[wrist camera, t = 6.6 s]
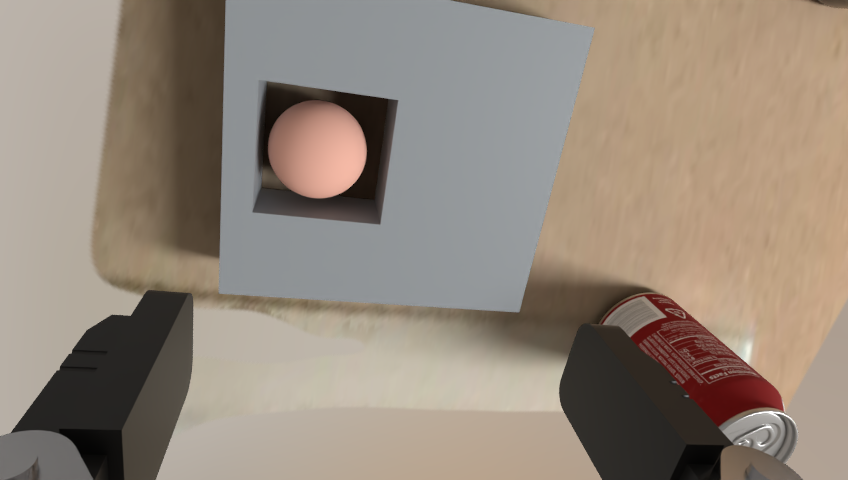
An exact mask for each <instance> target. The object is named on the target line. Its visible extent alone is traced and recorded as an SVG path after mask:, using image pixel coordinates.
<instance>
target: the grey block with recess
mask: <svg viewBox="0 0 848 480" xmlns="http://www.w3.org/2000/svg"><path fill="white" fill-rule="evenodd" d="M594 29H595V28H593V27H587V26H582V25H577V24H572V23H566V22H561V21H556V20H551V19H545V18H540V17H535V16H530V15H525V14H519V13H514V12H509V11H504V10H498V9H493V8H488V7H483V6H477V5H472V4H467V3H462V2H456V1H451V0H226V9H225V51H224V94H223V136H222V178H221V221H220V263H219V293H220V294H236V295H251V296H267V297H283V298H299V299H315V300H330V301H346V302H362V303H378V304H394V305H410V306H425V307H441V308H457V309H473V310H489V311H505V312H519V311H520V307H521V304H522V300H523V296H524V292H525V288H526V285H527V281H528V277H529V273H530V270H531V266H532V262H533V258H534V255H535V251H536V247H537V243H538V240H539V236H540V232H541V228H542V225H543V221H544V217H545V213H546V210H547V206H548V202H549V198H550V194H551V191H552V187H553V183H554V179H555V176H556V172H557V168H558V164H559V161H560V157H561V153H562V149H563V146H564V142H565V138H566V134H567V131H568V127H569V123H570V119H571V116H572V112H573V108H574V104H575V100H576V97H577V93H578V89H579V85H580V82H581V78H582V74H583V70H584V67H585V63H586V59H587V55H588V52H589V48H590V44H591V40H592V37H593V33H594ZM267 81H271V82H278V83H284V84H291V85H298V86H305V87H312V88H319V89H325V90H332V91H339V92H346V93H353V94H360V95H366V96H373V97H380V98H387V99H388V106H387V113H386V120H385V127H384V135H383V142H382V149H381V157H380V164H379V171H378V178H377V186H376V193H375V200H371V199H361V198H352V197H342V196H333V197H328V198H310V197H306V196H302V195H300V194H298V193H295V192H294V191H285V190H275V189H266V188H261V186H262V167H263V148H264V129H265V110H266V91H267Z"/></svg>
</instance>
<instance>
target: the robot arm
mask: <svg viewBox="0 0 848 480" xmlns="http://www.w3.org/2000/svg"><path fill="white" fill-rule="evenodd" d="M192 360H193V297H192V294H191V293H181V292H167V291H154V290H148V291H147V292H146V293H145V294H144V296H143V298H142V299H141V301H140V302H139V304H138V305H137V307H136V309H135V310H134V312H133V313H132V315H131V316H123V315H111V316H109V317H108V318H106V319H104V320H103V321H101V322H99V323H98V324H97V325H95V326H93V327H92V328H90V329H88V330H87V331H86V332H85V334H84V335H83V336H82V338H81V339H80V340H79V342H78V343H77V345H76V346H75V347H74V348H73V350H72V354H69V355H68V356H67V358H66V359H65V360H64V362H63V363H62V365H61V366H60V370H59V371H56V373H55V374H54V375H53V377H52V378H51V379H50V381H49V382H48V383H47V385H46V386H45V387H44V389H43V390H42V392H41V393H40V394H39V396H38V397H37V398H36V400H35V401H34V402H33V404H32V405H31V406H30V408H29V409H28V410H27V412H26V413H25V414H24V416H23V417H22V418H21V420H20V421H19V422H18V424H17V425H16V426H15V428H14V429H13V430H12V432H11V433H10V434H6V435H3V436H0V480H155V479H156V477H157V474H158V472H159V469H160V466H161V464H162V461H163V458H164V455H165V453H166V450H167V447H168V445H169V442H170V439H171V436H172V434H173V431H174V428H175V426H176V423H177V420H178V417H179V415H180V412H181V409H182V407H183V404H184V401H185V398H186V396H187V392H188V389H189V384H190V379H191V372H192ZM559 396H560V402H561V406H562V409H563V411H564V413H565V414H566V416H567V418H568V420H569V422H570V423H571V425H572V427H573V429H574V430H575V432H576V434H577V436H578V437H579V439H580V441H581V443H582V445H583V446H584V448H585V450H586V452H587V454H588V455H589V457H590V459H591V461H592V462H593V464H594V466H595V467H596V469H597V471H598V473H599V475H600V477H601V478H602V480H803V479H802V478H801V477H800V476H799V475H798V474H797V473H796V472H795V471H794V470H792V469H791V468H790V467H788V466H787V465H786V464H784V463H783V462H781V461H780V460H778V459H776V458H775V457H773V456H771V455H769V454H767V453H765V452H763V451H760V450H757V449H755V448H751V447H747V446H742V445H734V444H733V443H732V442H731V441H730V440H729V439H728V438H727V436H726V435H725V434H724V433H723V432H722V431H721V430H720V429H719V428H718V426H717V425H716V424H715V423H714V422H713V421H712V420H711V419H710V418H709V417H708V415H707V414H706V413H705V412H704V411H703V410H702V409H701V408H700V407H699V405H698V404H697V403H696V402H695V401H694V400H693V399H690V398H689V394H688V393H687V392H686V391H685V390H684V389H683V388H682V387H681V386H680V385H677V381H676V380H675V379H674V378H673V377H672V376H671V374H670V373H669V372H668V371H667V370H666V369H665V368H664V367H663V366H662V365H661V364H660V363H659V362H657V361H656V360H654V359H653V358H651V357H650V356H649V355H647V354H646V353H644V352H643V351H641V350H640V348H639V347H638V346H637V345H636V344H635V343H634V342H633V340H632V339H631V338H630V337H629V336H628V335H627V334H626V333H625V331H624V330H623V329H622V328H621V327H619V326H615V325H601V324H583V325H582V326H581V327H580V328H579V329H578V331H577V334H576V337H575V340H574V342H573V345H572V348H571V351H570V354H569V357H568V360H567V363H566V366H565V369H564V372H563V375H562V378H561V381H560V388H559Z"/></svg>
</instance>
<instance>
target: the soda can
mask: <svg viewBox="0 0 848 480" xmlns="http://www.w3.org/2000/svg"><path fill="white" fill-rule="evenodd" d="M599 324H601V325H615V326H619V327H621V328H622V329H623V330H624V331H625V333H626V334H627V335H628V336H629V337H630V338H631V339H632V340H633V342H634V343H635V344H636V345H637V346H638V347H639V348H640V350H641V351H643V352H644V353H646V354H647V355H649V356H650V357H651V358H653V359H654V360H656V361H657V362H659V363H660V364H661V365H662V366H663V367H664V368H665V369H666V370H667V371H668V372H669V373H670V374H671V376H672V377H673V378H674V379H675V380H676V381H677V385H680V386H681V387H682V388H683V389H684V390H685V391H686V392H687V393H688V394H689V398H690V399H693V400H694V401H695V402H696V403H697V404H698V405H699V407H700V408H701V409H702V410H703V411H704V412H705V413H706V414H707V415H708V417H709V418H710V419H711V420H712V421H713V422H714V423H715V424H716V425H717V426H718V428H719V429H720V430H721V431H722V432H723V433H724V434H725V435H726V436H727V438H728V439H729V440H730V441H731V442H732V443H733V444H734V445H742V446H747V447H751V448H755V449H757V450H760V451H763V452H765V453H767V454H769V455H771V456H773V457H775V458H776V459H778V460H780V461H781V462H783V463H784V464H785V463H786V462H787V461H788V459H789V458H790V456H791V455H792V453H793V451H794V449H795V447H796V444H797V439H798V429H797V426H796V424H795V422H794V421H793V419H792V418H791V417H790V416H789V415H787V414H786V413H785V409H784V404H783V400H782V398H781V395H780V394H779V392H778V391H777V390H776V388H775V387H774V386H773V385H771V384H770V383H769V382H768V381H767V380H766V379H764V378H763V377H762V376H761V375H760V374H758V373H757V372H756V371H755V370H754V369H753V368H751V367H750V366H749V365H748V364H747V363H746V362H744V361H743V360H742V359H741V358H740V357H739V356H737V355H736V354H735V353H734V352H733V351H732V350H730V349H729V348H728V347H727V346H726V345H725V344H723V343H722V342H721V341H720V340H719V339H718V338H716V337H715V336H714V335H713V334H712V333H710V332H709V331H708V330H707V329H706V328H705V327H703V326H702V325H701V324H700V323H699V322H698V321H696V320H695V319H694V318H693V317H692V316H691V315H689V314H688V313H687V312H686V311H685V310H684V309H682V308H681V307H680V306H679V305H678V304H677V303H675V302H674V301H673V300H672V299H670V298H669V297H667V296H665V295H662V294H659V293H649V292H648V293H640V294H636V295H632V296H630V297H627V298H625V299H623V300H621V301H620V302H618V303H617V304H615V305H614V306H613V307H612V308H611V309H610V310H609V311H608V312H607V313H606V314H605V315H604V316H603V318H602V319H601V321H600V322H599Z"/></svg>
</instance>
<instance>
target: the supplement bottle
mask: <svg viewBox="0 0 848 480" xmlns="http://www.w3.org/2000/svg"><path fill="white" fill-rule="evenodd" d="M818 1H819V2H821V3H823V4H825V5H827V6H830V7H834V8H844V9H848V0H818Z"/></svg>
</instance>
